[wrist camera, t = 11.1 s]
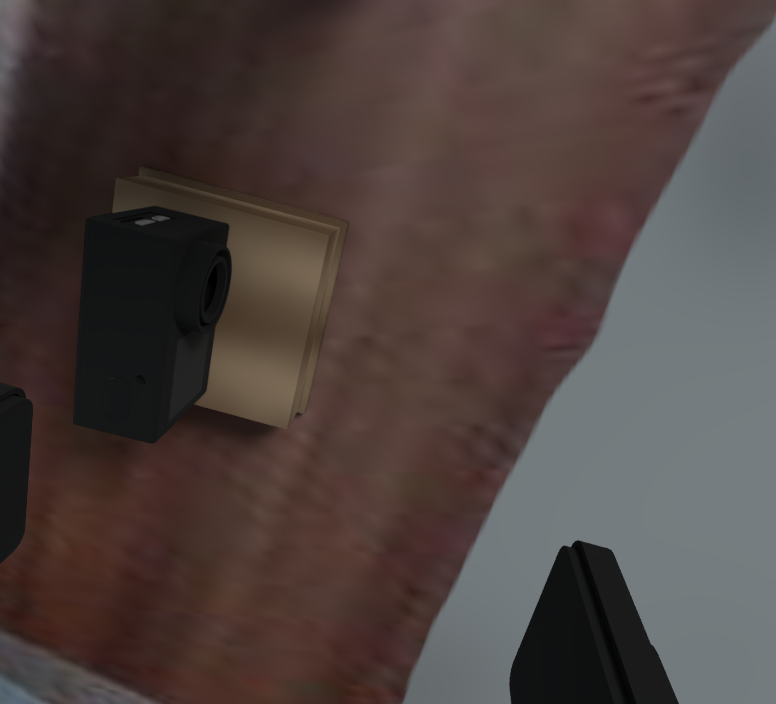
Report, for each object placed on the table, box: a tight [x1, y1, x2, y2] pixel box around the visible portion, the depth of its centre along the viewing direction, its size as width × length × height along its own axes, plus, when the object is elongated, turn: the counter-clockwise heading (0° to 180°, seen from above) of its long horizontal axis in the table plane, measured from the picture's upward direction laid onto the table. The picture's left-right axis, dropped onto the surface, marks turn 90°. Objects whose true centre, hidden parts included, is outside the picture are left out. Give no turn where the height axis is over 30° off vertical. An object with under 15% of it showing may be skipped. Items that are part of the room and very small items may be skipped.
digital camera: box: [73, 206, 232, 443], centre depth 32 cm, size 10×5×7 cm, turn 167°
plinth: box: [112, 167, 349, 430], centre depth 37 cm, size 13×13×4 cm
